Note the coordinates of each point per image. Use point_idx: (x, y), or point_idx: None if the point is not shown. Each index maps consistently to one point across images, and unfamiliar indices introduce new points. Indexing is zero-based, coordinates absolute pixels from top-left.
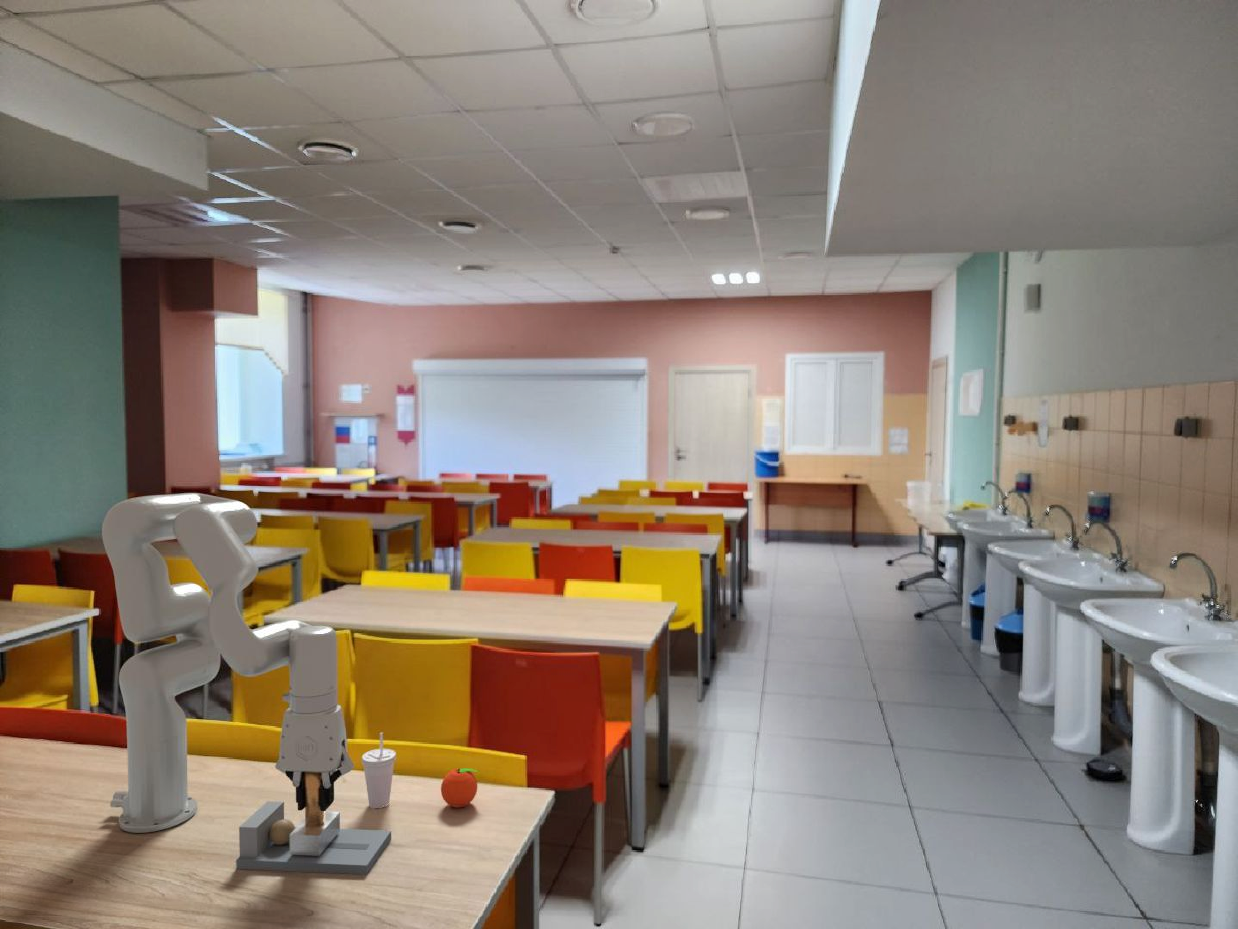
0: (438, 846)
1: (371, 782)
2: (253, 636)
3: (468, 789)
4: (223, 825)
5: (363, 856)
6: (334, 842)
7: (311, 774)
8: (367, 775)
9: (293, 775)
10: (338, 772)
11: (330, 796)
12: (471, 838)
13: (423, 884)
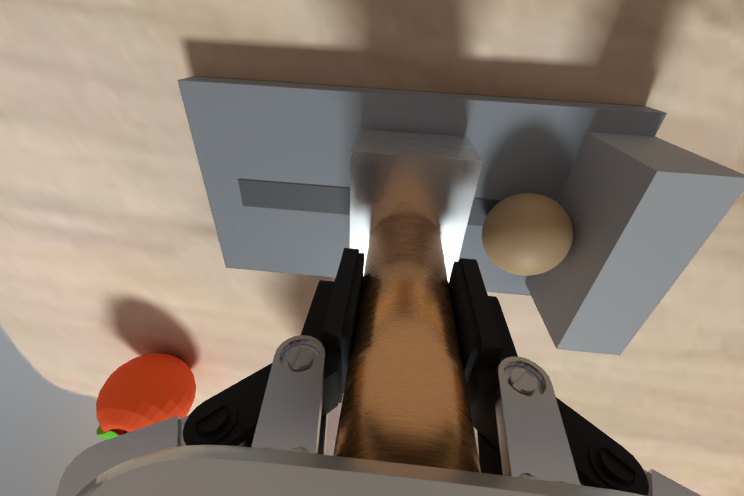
0: (102, 223)
1: (331, 419)
2: None
3: (103, 386)
4: (696, 324)
5: (222, 138)
6: None
7: (404, 440)
8: None
9: (567, 443)
10: (189, 442)
11: (311, 307)
12: (54, 253)
13: None
